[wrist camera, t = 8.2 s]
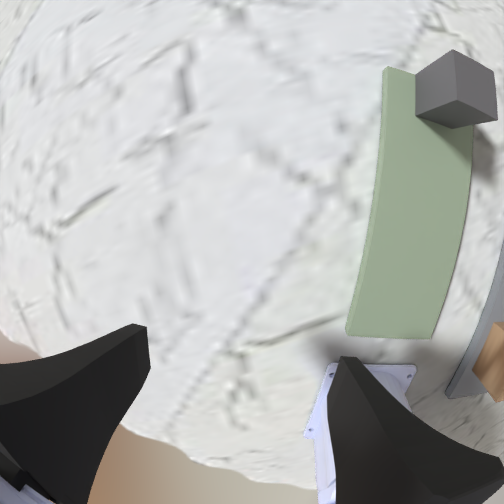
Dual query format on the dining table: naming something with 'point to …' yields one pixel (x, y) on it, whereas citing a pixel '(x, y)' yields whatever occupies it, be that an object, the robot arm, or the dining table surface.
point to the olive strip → (419, 195)
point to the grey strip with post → (480, 339)
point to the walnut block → (492, 363)
